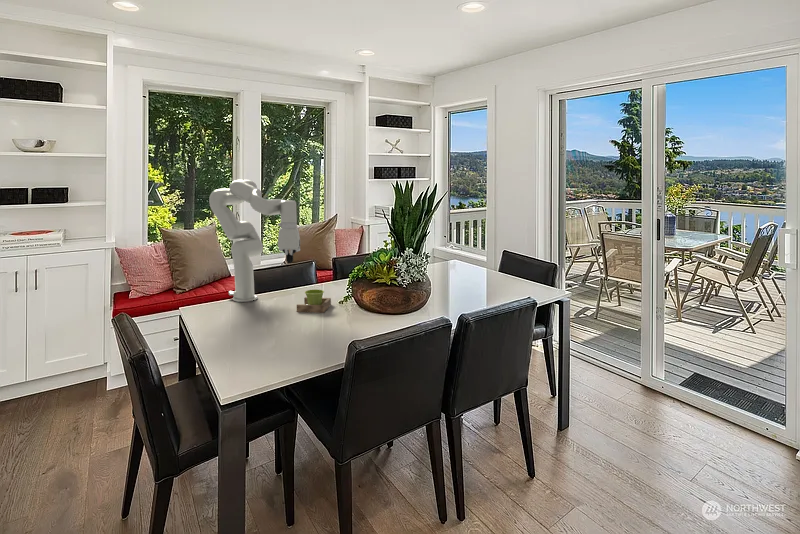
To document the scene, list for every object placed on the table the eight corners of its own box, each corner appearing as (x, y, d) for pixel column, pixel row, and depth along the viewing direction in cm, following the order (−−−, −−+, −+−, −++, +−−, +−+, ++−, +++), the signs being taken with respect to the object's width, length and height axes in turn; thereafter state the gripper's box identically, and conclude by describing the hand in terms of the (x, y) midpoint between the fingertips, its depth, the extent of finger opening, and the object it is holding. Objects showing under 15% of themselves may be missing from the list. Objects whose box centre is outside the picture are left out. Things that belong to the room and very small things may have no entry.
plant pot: (305, 311, 237) (305, 294, 235) (304, 306, 246) (304, 289, 244) (324, 310, 239) (324, 293, 237) (323, 305, 248) (323, 289, 246)
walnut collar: (296, 311, 236) (296, 304, 235) (305, 303, 250) (305, 297, 250) (323, 312, 235) (323, 306, 234) (330, 304, 249) (330, 298, 249)
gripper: (271, 226, 233) (272, 263, 236) (301, 227, 231) (302, 264, 235) (276, 224, 240) (277, 260, 244) (306, 225, 239) (306, 261, 242)
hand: (289, 262), depth 239 cm, fingers closed
